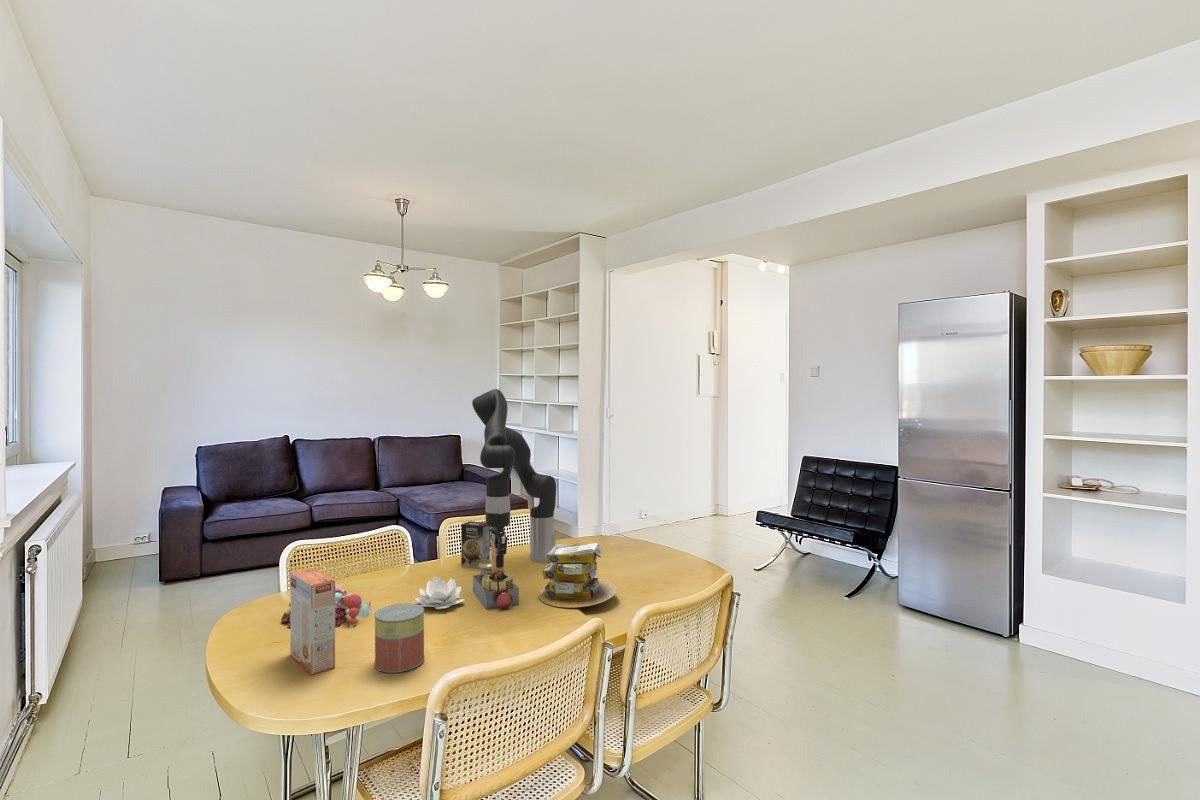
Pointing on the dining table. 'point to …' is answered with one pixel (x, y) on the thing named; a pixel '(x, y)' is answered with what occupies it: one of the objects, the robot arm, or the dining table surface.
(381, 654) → the canned food
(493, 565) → the copper pipe
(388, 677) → the dining table surface
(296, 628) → the cracker box
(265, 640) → the dining table surface
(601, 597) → the stacked food boxes
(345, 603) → the candy landscape model
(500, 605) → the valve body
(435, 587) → the lotus flower
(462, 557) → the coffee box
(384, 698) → the dining table surface
